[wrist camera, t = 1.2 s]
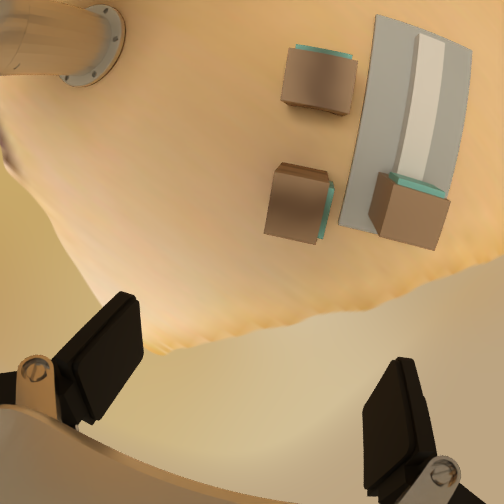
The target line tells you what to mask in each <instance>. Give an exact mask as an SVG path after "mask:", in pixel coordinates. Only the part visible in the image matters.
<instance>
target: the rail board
mask: <svg viewBox="0 0 504 504" xmlns="http://www.w3.org/2000/svg"><path fill="white" fill-rule="evenodd" d="M471 64H472V50H470V49H468V48H466V47H464V46H462V45H459V44H457V43H455V42H453V41H451V40H448V39H446V38H444V37H441V36H439V35H436V34H434V33H431V32H429V31H426V30H424V29H421V28H418V27H415V26H413V25H410V24H407V23H404V22H401V21H398V20H395V19H391V18H388V17H385V16H381V15H378V14H377V15H376V16H375V25H374V34H373V42H372V50H371V57H370V65H369V71H368V78H367V84H366V91H365V97H364V103H363V108H362V114H361V120H360V125H359V130H358V135H357V140H356V145H355V150H354V155H353V160H352V165H351V169H350V174H349V178H348V183H347V187H346V191H345V196H344V200H343V204H342V208H341V212H340V216H339V220H338V225H340V226H345V227H349V228H353V229H357V230H362V231H366V232H370V233H374V234H378V235H379V237H383V238H387V239H391V240H395V241H398V242H402V243H406V244H410V245H414V246H418V247H422V248H425V249H429V250H433V251H435V248H436V245H437V242H438V240H439V237H440V234H441V231H442V228H443V225H444V222H445V219H446V215H447V212H448V209H449V206H450V201H449V200H447V196H448V192H449V189H450V185H451V181H452V177H453V173H454V169H455V165H456V161H457V156H458V152H459V147H460V142H461V137H462V132H463V126H464V120H465V114H466V108H467V101H468V93H469V85H470V75H471Z"/></svg>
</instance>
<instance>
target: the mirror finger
mask: <svg viewBox="0 0 504 504" xmlns="http://www.w3.org/2000/svg"><path fill="white" fill-rule="evenodd" d="M357 64H358V61H356V60H352V55H350V54H346V53H341V52H337V51H332V50H327V49H322V48H316V47H311V46H305V45H298V44H296V48H289V50H288V56H287V63H286V69H285V75H284V81H283V87H282V94H281V101H283V102H284V103H286V104H287V105H291V106H297V105H298V106H303V107H308V108H313V109H318V110H323V111H328V112H332V113H333V114H336V115H340V116H344V115H347V114H349V113H350V108H351V102H352V96H353V90H354V84H355V77H356V71H357Z"/></svg>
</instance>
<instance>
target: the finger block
mask: <svg viewBox="0 0 504 504" xmlns="http://www.w3.org/2000/svg"><path fill="white" fill-rule="evenodd" d="M334 190H335V188H334V185H333V182H331V181H329V178H328V174H327V172H326V171H322V170H317V169H313V168H308V167H303V166H298V165H293V164H288V163H283V162H282V164H281V165H280V166H279V167H278V168H277V169H276V171H275V172H274V177H273V183H272V189H271V195H270V200H269V206H268V212H267V218H266V224H265V230H264V234H267V235H272V236H277V237H281V238H286V239H291V240H295V241H300V242H304V243H309V244H313V245H316V241H317V238H320V239H323V236H324V232H325V228H326V224H327V220H328V216H329V212H330V207H331V203H332V199H333V194H334Z"/></svg>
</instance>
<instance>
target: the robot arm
mask: <svg viewBox="0 0 504 504" xmlns="http://www.w3.org/2000/svg"><path fill="white" fill-rule="evenodd" d="M124 38H125V25H124V21H123V18H122V16H121V14H120V13H119V12H118V11H117V10H116V9H115V8H113V7H110V6H108V5H103V4H100V5H93V6H90V7H88V8H86V9H82V8H78V7H75V6H72V5H68V4H64V3H60V2H56V1H52V0H0V76H7V75H59V76H60V78H61V79H62V80H63V82H65V83H66V84H68V85H70V86H74V87H83V86H88V85H91V84H93V83H95V82H97V81H98V80H100V79H101V78H102V77H103V76H105V74H106V73H107V72H108V71H109V70H110V69H111V68H112V66H113V65H114V63H115V62H116V60H117V58H118V56H119V54H120V52H121V49H122V46H123V42H124ZM143 354H144V350H143V341H142V331H141V319H140V306H139V301H138V300H136V297H135V296H134V295H132V294H129V293H126V292H122V291H120V292H119V293H117V294H116V295H115V296H114V297H113V298H112V299H111V300H110V301H109V302H108V303H107V304H106V305H105V306H104V307H103V308H102V309H101V310H100V311H99V312H98V313H97V314H96V315H95V316H94V317H93V318H92V319H91V320H90V321H89V322H87V324H86V325H84V327H82V328H81V329H80V331H78V332H77V333H76V334H75V336H74V337H73V338H72V339H71V340H70V341H69V342H68V343H67V344H66V345H65V346H64V347H63V348H62V349H61V350H60V351H59V352H58V353H57V354H56V355H55V356H54V357H53V358H52V360H50V359H49V358H47V357H46V356H43V355H33V356H29V357H27V358H25V359H24V360H23V361H22V362H21V363H20V365H19V366H18V370H17V371H14V372H7V373H0V504H298V503H290V502H283V501H277V500H272V499H266V498H261V497H256V496H251V495H246V494H241V493H238V492H233V491H229V490H225V489H221V488H218V487H214V486H210V485H207V484H204V483H200V482H197V481H194V480H191V479H188V478H184V477H181V476H178V475H175V474H173V473H170V472H167V471H165V470H162V469H159V468H156V467H154V466H151V465H149V464H146V463H144V462H142V461H139V460H137V459H134V458H132V457H130V456H127V455H125V454H123V453H121V452H119V451H117V450H114V449H112V448H110V447H108V446H106V445H104V444H102V443H100V442H98V441H96V440H94V439H92V438H90V437H88V436H86V435H84V434H82V433H80V432H79V428H78V424H79V423H80V422H81V420H83V421H85V422H87V423H89V424H90V425H93V424H94V422H95V421H96V420H100V419H101V418H102V417H103V415H104V414H105V412H106V411H107V409H108V408H109V406H110V405H111V404H112V402H113V401H114V399H115V398H116V396H117V395H118V393H119V392H120V390H121V389H122V388H123V386H124V384H125V383H126V382H127V380H128V379H129V377H130V376H131V375H132V373H133V372H134V370H135V368H136V367H137V366H138V365H139V363H140V362H141V360H142V358H143ZM362 417H363V446H364V488H365V489H367V490H368V491H367V496H378V502H379V504H486V503H484V502H483V501H482V500H480V499H479V498H478V497H477V496H475V495H474V494H473V493H472V492H470V491H469V490H468V489H467V488H465V487H464V486H463V485H462V484H460V483H459V482H460V479H461V471H460V467H459V466H458V464H457V463H456V461H454V460H453V459H452V458H450V457H448V456H443V455H442V456H437V451H436V446H435V441H434V436H433V431H432V426H431V421H430V417H429V412H428V407H427V403H426V400H425V397H424V396H423V393H422V389H421V385H420V381H419V377H418V374H417V370H416V367H415V363H414V360H413V359H411V358H403V357H398V358H397V359H396V360H392V361H391V362H390V364H389V366H388V368H387V369H386V371H385V373H384V374H383V376H382V378H381V379H380V381H379V383H378V384H377V386H376V388H375V389H374V391H373V393H372V394H371V396H370V397H369V399H368V401H367V402H366V404H365V406H364V408H363V412H362Z"/></svg>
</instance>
